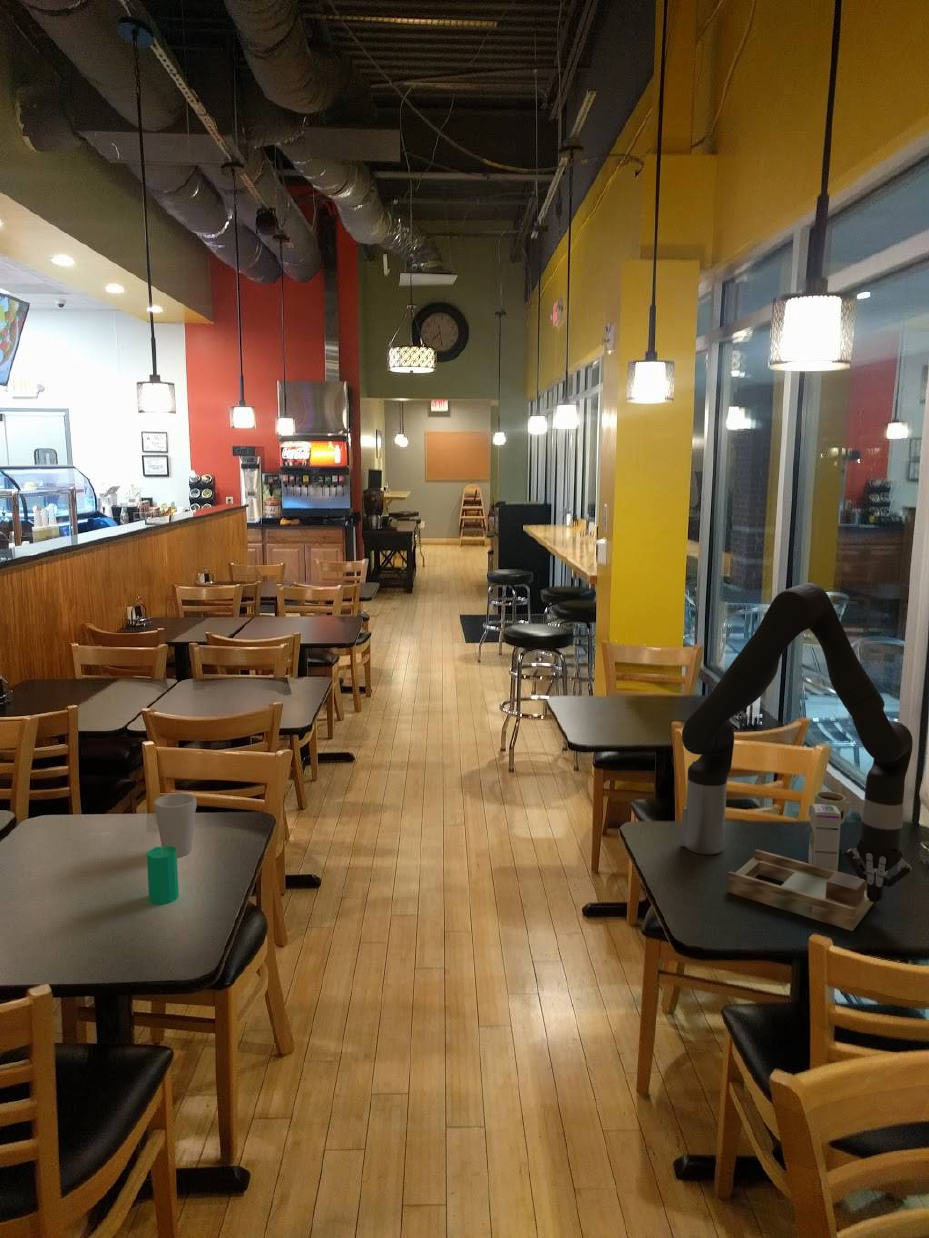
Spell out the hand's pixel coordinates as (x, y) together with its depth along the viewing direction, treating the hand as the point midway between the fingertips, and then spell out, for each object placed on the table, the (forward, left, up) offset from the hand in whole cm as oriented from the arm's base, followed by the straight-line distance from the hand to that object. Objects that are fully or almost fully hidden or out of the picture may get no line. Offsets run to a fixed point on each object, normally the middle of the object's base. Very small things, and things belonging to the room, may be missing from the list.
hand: (874, 900), depth 180 cm
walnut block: (-6, 0, -1) cm, 6 cm away
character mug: (-19, +31, -4) cm, 36 cm away
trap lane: (-15, 0, -4) cm, 15 cm away
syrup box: (-16, +18, -4) cm, 24 cm away
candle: (-119, -88, -4) cm, 148 cm away
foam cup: (-137, -73, -4) cm, 155 cm away
